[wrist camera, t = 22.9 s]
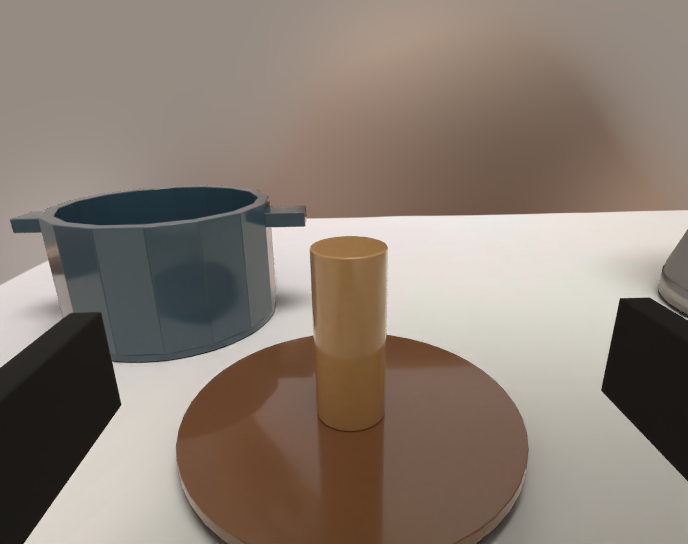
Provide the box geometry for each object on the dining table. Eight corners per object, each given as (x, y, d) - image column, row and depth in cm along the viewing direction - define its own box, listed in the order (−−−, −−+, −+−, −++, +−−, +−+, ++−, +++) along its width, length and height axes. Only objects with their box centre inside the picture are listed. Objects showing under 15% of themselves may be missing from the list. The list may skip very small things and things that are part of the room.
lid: (222, 353, 29) (205, 210, 26) (466, 345, 29) (478, 204, 26) (114, 603, 14) (45, 344, 11) (603, 582, 15) (667, 326, 12)
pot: (93, 281, 42) (72, 188, 39) (313, 275, 42) (309, 183, 39) (-23, 367, 28) (-68, 232, 25) (305, 357, 28) (298, 223, 25)
